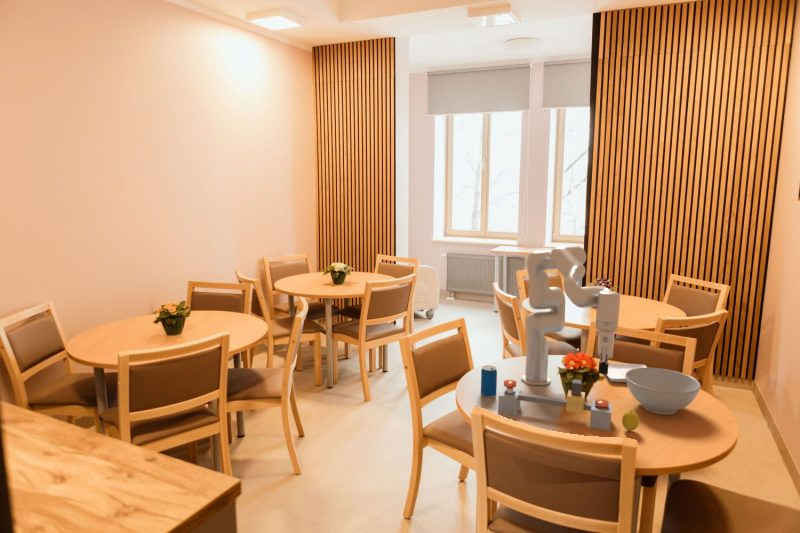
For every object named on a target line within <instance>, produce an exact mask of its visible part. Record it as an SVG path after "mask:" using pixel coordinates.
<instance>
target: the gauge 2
mask: <svg viewBox="0 0 800 533" xmlns="http://www.w3.org/2000/svg"><path fill="white" fill-rule="evenodd" d="M594 401H595V406H597V407H598V408H601V409H605V408H608V407H609V403H610V402H609V400H606V399H601V398H598V399H595V400H594Z"/></svg>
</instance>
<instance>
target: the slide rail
mask: <svg viewBox="0 0 800 533" xmlns="http://www.w3.org/2000/svg"><path fill="white" fill-rule="evenodd" d="M506 392H507V387H505V386H503V387H502V389H501V391H500V393H499V394H498V403H497V407H498V408H497V413H498V414H499V413H500V414H505V415H511V416H517V414H518V413H519V410H520V408H521V401H522V402H529V403H535V404H542V405H549V406H556V407H562V408H566V407H567V399H563V398H562V399H561V398H556V397H550V396H544V395H543V396H542V395H538V394H537V395H536V394H530V393H525V392H523V393H522V389H518V388H513V395H509V394H506ZM591 401H592V402H591V403H590V402H585V403H584V410H583V411H587V412H590V416H589V417H590V418H589V420H590V422H589V429H596V430H601V431H609V432H611V424H612V412H613V403H611V402H609V407H608V408H605V409H601V408H598V407H597V406H595V400H593V399H592V400H591Z"/></svg>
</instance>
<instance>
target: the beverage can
mask: <svg viewBox="0 0 800 533" xmlns="http://www.w3.org/2000/svg"><path fill="white" fill-rule="evenodd" d="M497 370H498V369H497V368H496V366H493V365H484V366H482V367H481V371H480V372H481V374H480V394H481V395H482V396H483V397H485V398H493V397H495V396H497V387H498V386H497V385H498V384H497V382H498V371H497Z"/></svg>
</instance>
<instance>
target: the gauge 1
mask: <svg viewBox="0 0 800 533" xmlns="http://www.w3.org/2000/svg"><path fill="white" fill-rule="evenodd" d="M503 387H505V388H507V392H506V394H509V395H513V389H515V388H516V387H517V381H516V380H513V379H505V380H503Z"/></svg>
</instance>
